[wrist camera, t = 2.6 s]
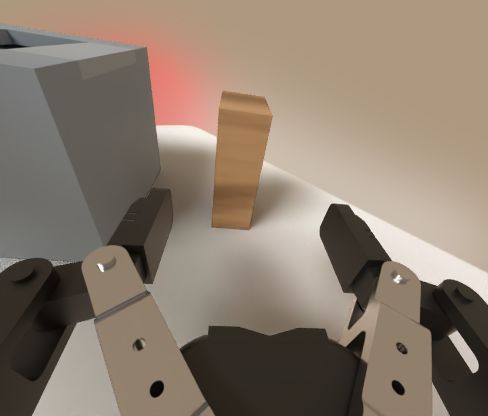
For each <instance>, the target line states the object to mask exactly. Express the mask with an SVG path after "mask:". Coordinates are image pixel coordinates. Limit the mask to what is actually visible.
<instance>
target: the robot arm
mask: <svg viewBox="0 0 488 416" xmlns="http://www.w3.org/2000/svg"><path fill="white" fill-rule="evenodd" d="M172 222H173V210H172V200H171V191H170V189H159V188H153V189H152V190H151V192H150V194H149V195H148V197H147V198H139V199H138V200H136V201H135V202H134V203H132V204H131V206H130V207H129V209H128V211H127V214H125V216H124V217H123V220H121V222H120V224H119V225H118V227H117V229H116V230H115V232H114V234H113V235H112V237H111V238H110V240H109V242H108V243H107V245H106V246H104V247H101V248H99V249H96V250H95V251H93V252H91V253H90V254H89V255H88V256H87V257H86V258H85V259H84V261H80V262H76V263H70V264H65V265H60V266H55V267H53V265H52V264H51V262H50V261H49V260H47V259H44V258H31V259H26V260H23V261H20V262H18V263H15V264H13V265H11V266H10V267H8V268H6V269H5V270H4V271H2V272H1V273H0V416H32V414H33V412H34V410H35V408H36V406H37V404H38V402H39V400H40V398H41V396H42V393H43V391H44V389H45V387H46V385H47V383H48V381H49V379H50V377H51V375H52V373H53V371H54V369H55V367H56V365H57V363H58V361H59V358H60V356H61V354H62V352H63V350H64V348H65V346H66V344H67V342H68V340H69V338H70V336H71V334H72V332H73V330H74V328H75V326H76V323H78V322H81V321H85V320H89V319H92V318H96V319H95V320H94V323H95V327H96V331H97V335H98V338H99V342H100V345H101V349H102V352H103V355H104V359H105V362H106V366H107V369H108V373H109V376H110V380H111V383H112V387H113V390H114V394H115V397H116V401H117V404H118V408H119V411H120V415H121V416H432V382H433V384H434V386H435V388H436V390H437V392H438V394H439V396H440V398H441V399H442V401H443V403H444V405H445V407H446V409H447V411H448V413H449V415H450V416H488V305H487V303H486V302H485V301H484V300H483V299H482V298H481V297H480V296H479V295H478V294H477V293H476V292H475V291H474V290H472V289H471V288H470V287H468V286H466V285H465V284H463V283H461V282H458V281H455V280H451V279H447V280H444V281H443V282H442V283H441V284H439V285H438V286H436V285H433V284H430V283H426V282H423V281H420V280H419V279H418V277H417V276H416V275H415V273H414V272H412V271H411V270H410V269H409V268H407V267H406V266H404V265H402V264H400V263H397V262H393V261H392V260H391V259H390V257H389V256H388V254H387V253H386V252H385V250H384V249H383V247H382V246H381V244H380V243H379V241H378V240H377V238H375V236H374V234H373V233H372V232H371V230H370V228H369V227H368V225H367V224H366V223H365V222H364V221H363V220H362V219H361V218H359V217H358V216H357V215H355V214H354V212H353V211H352V209H351V208H350V206H349V205H345V204H331V205H330V206H329V208H328V211H327V213H326V215H325V217H324V219H323V221H322V224H321V226H320V237H321V240H322V242H323V244H324V247H325V249H326V252H327V254H328V256H329V259H330V261H331V264H332V266H333V268H334V271H335V273H336V275H337V278H338V280H339V283H340V285H341V287H342V290H343V292H344V293H354V294H355V296H356V298H355V299H354V300H353V303H352V306H351V309H350V312H349V315H348V318H347V321H346V325H345V328H344V331H343V334H342V336H341V338H340V340H339V341H338V342H336V341H333V340H331V339H329V338H328V336H327V333H326V330H325V329H316V328H296V329H293V330H289V331H286V332H282V333H279V334H275V335H271V336H268V335H264V334H261V333H258V332H254V331H251V330H248V329H245V328H241V327H230V326H209V331H208V335H205V336H201V337H199V338H196V339H194V340H192V341H191V342H189V343H187V344H186V345H184V346H183V347H182V348H180V349H179V348H178V346H177V344H176V342H175V340H174V338H173V336H172V334H171V332H170V330H169V328H168V326H167V324H166V322H165V320H164V318H163V316H162V314H161V312H160V311H159V309H158V307H157V305H156V303H155V301H154V299H153V297H152V295H151V293H150V292H149V291H147V290H146V288H145V286H144V284H153V281H154V278H155V275H156V272H157V269H158V266H159V263H160V260H161V257H162V254H163V251H164V248H165V245H166V242H167V239H168V236H169V233H170V230H171V227H172ZM457 330H458V332H459V333H460V335H461V336H462V338H463V339H464V340H465V342H466V343H467V345H468V346H469V348H470V349H471V350H472V352H473V353H474V355H475V356H476V358H477V360H478V363H479V369H478V371H477V372H476V373H472V372H471V370H470V369H469V367H468V366H467V364H466V362H465V361H464V359H463V358H462V356H461V355H460V353H459V352H458V350H457V349H456V347H455V346H454V344H453V343H452V341H451V340H450V338H449V337H448V335H450V334H452V333H453V332H455V331H457Z"/></svg>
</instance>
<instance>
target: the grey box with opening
mask: <svg viewBox="0 0 488 416" xmlns="http://www.w3.org/2000/svg"><path fill="white" fill-rule="evenodd" d="M149 72H150V71H149V62H148V54H147V47H143V46H136V45H130V44H124V43H118V42H111V41H105V40H99V39H93V38H87V37H81V36H74V35H68V34H62V33H55V32H49V31H43V30H36V29H30V28H24V27H17V26H11V25H6V24H0V257H3V258H22V259H31V258H44V259H47V260H58V261H76V262H80V261H84V259H85V258H86V257H87V256H88V255H89V254H90V253H91V252H93V251H95V250H96V249H99V248H101V247H104V246H106V245H107V243H108V242H109V240H110V238H111V237H112V235H113V234H114V232H115V230H116V229H117V227H118V225H119V224H120V222H121V220H123V217H124V216H125V214H127V211H128V209H129V207H130V206H131V204H132V203H134V202H135V201H136V200H138V199H139V198H146V196H147V194H148V192H149V190H150V188H151V186H152V185H153V183H154V181H155V179H156V177H157V175H158V173H159V172H160V170H161V168H160V160H159V151H158V142H157V133H156V124H155V116H154V107H153V98H152V90H151V81H150V73H149Z"/></svg>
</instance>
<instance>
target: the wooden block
mask: <svg viewBox="0 0 488 416" xmlns="http://www.w3.org/2000/svg"><path fill="white" fill-rule="evenodd" d="M272 117H273V116H272V113H271V111H270V109H269V106H268V104H267V102H266V99H265V98H264V97H261V96H255V95H247V94H240V93H234V92H226V91H223V92H222V96H221V101H220V106H219V117H218V133H217V148H216V164H215V180H214V196H213V212H212V227H216V228H229V229H242V230H249V226H250V221H251V216H252V211H253V207H254V202H255V197H256V193H257V188H258V183H259V178H260V174H261V169H262V164H263V159H264V155H265V150H266V145H267V140H268V136H269V131H270V126H271V121H272Z"/></svg>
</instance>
